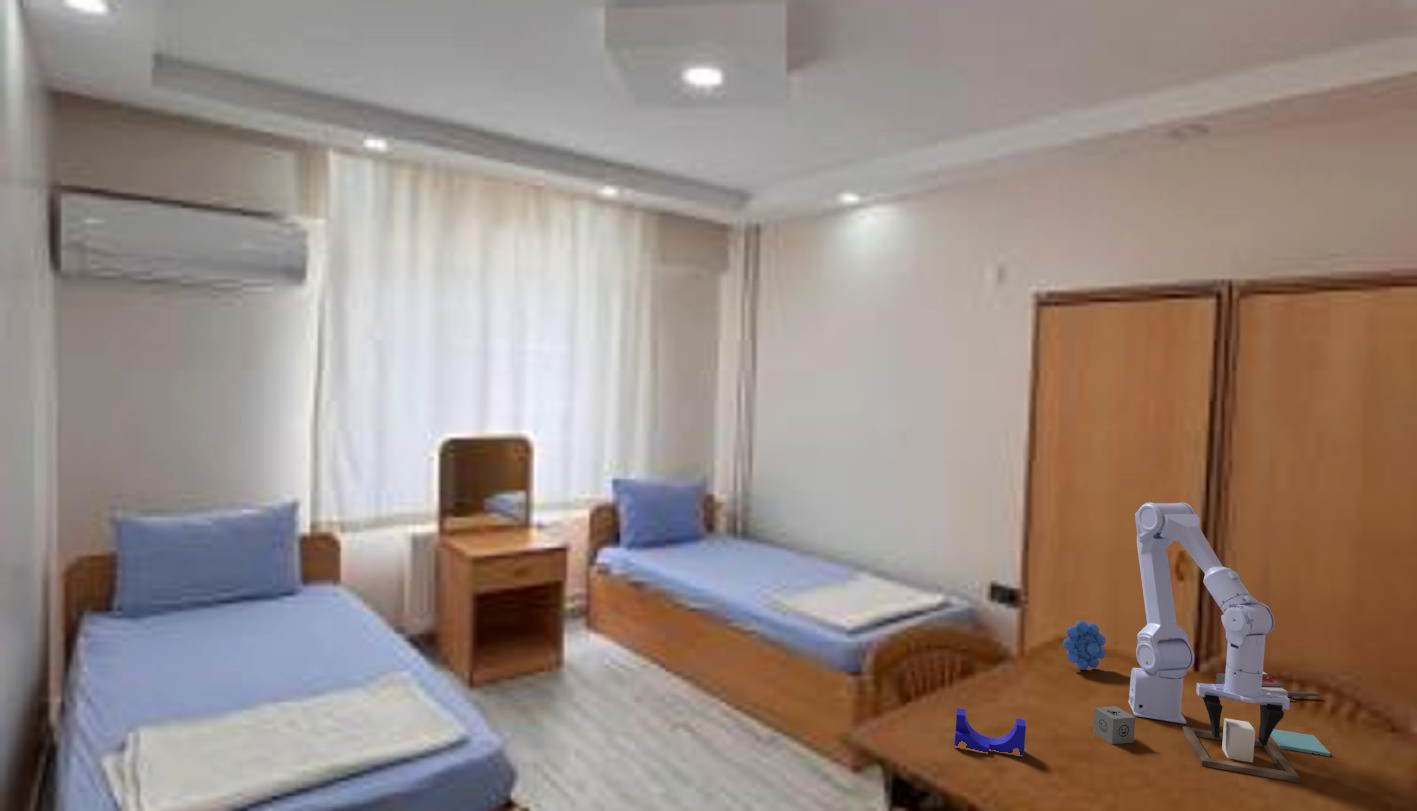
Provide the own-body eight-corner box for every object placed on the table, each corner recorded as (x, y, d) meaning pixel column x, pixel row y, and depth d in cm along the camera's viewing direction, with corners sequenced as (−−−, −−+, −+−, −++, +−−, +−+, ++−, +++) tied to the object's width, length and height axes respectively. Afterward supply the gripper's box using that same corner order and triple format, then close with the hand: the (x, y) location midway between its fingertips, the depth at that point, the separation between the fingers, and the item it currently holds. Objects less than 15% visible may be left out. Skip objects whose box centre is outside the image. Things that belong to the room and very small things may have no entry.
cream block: (1227, 758, 150) (1230, 726, 149) (1221, 748, 154) (1224, 718, 153) (1252, 762, 148) (1255, 730, 148) (1246, 752, 152) (1248, 721, 152)
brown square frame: (1201, 765, 146) (1202, 760, 146) (1182, 730, 160) (1182, 726, 160) (1299, 782, 142) (1299, 777, 141) (1270, 745, 156) (1270, 740, 156)
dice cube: (1093, 732, 158) (1094, 707, 158) (1114, 730, 159) (1116, 706, 159) (1111, 744, 153) (1113, 718, 153) (1133, 742, 155) (1135, 717, 154)
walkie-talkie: (1233, 699, 179) (1322, 702, 179) (1235, 680, 179) (1324, 683, 179) (1208, 684, 188) (1292, 687, 188) (1209, 665, 187) (1294, 668, 188)
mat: (1280, 748, 155) (1280, 745, 155) (1266, 730, 162) (1266, 727, 162) (1330, 756, 152) (1330, 753, 152) (1313, 738, 160) (1313, 735, 160)
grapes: (1074, 678, 186) (1078, 627, 186) (1055, 667, 193) (1058, 617, 192) (1116, 675, 189) (1120, 625, 189) (1096, 664, 196) (1099, 616, 195)
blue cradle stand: (954, 749, 149) (956, 717, 148) (955, 738, 153) (957, 708, 153) (1023, 762, 145) (1026, 729, 145) (1022, 751, 149) (1025, 719, 149)
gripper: (1205, 668, 149) (1200, 740, 149) (1298, 681, 144) (1292, 756, 145) (1195, 656, 155) (1190, 725, 156) (1284, 668, 151) (1278, 739, 151)
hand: (1238, 739), depth 151 cm, fingers open, 7 cm apart
